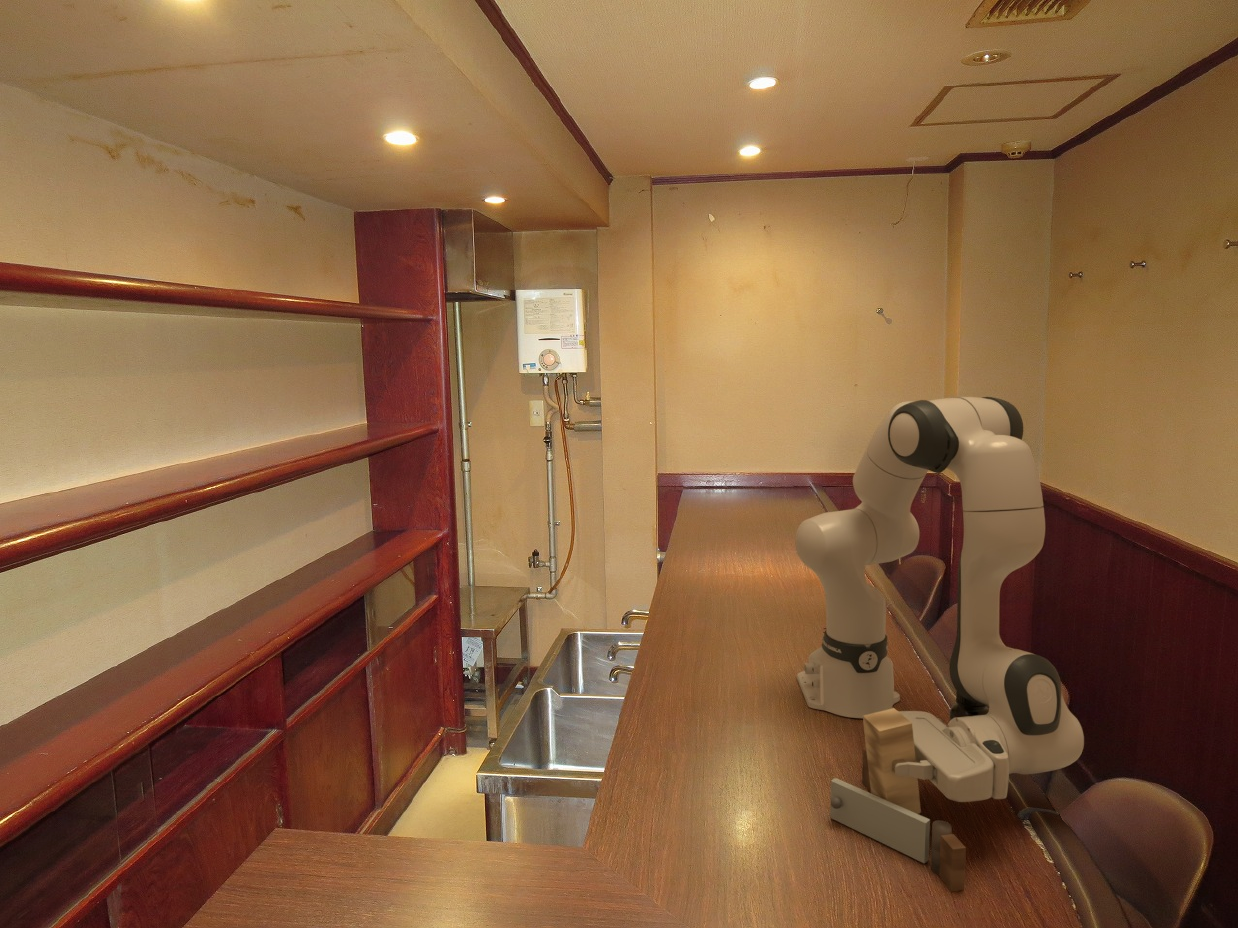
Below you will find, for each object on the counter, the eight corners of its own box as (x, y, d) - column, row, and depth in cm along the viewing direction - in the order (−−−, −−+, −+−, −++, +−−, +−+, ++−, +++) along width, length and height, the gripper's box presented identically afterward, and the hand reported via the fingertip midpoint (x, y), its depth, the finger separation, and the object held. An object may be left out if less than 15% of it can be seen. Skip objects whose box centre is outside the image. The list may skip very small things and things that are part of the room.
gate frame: (860, 782, 133) (861, 745, 132) (874, 780, 133) (875, 743, 132) (949, 891, 106) (950, 845, 105) (966, 889, 107) (968, 843, 106)
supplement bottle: (980, 748, 142) (983, 683, 140) (999, 768, 136) (1002, 700, 134) (941, 750, 142) (943, 684, 140) (958, 770, 135) (961, 702, 134)
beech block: (872, 802, 122) (862, 715, 119) (902, 794, 123) (893, 707, 120) (889, 820, 117) (879, 731, 115) (920, 812, 118) (912, 723, 115)
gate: (928, 859, 113) (930, 819, 112) (918, 868, 111) (919, 827, 110) (834, 814, 124) (835, 777, 123) (824, 821, 122) (824, 784, 121)
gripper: (935, 697, 130) (853, 704, 128) (1015, 762, 110) (919, 772, 108) (934, 734, 131) (852, 742, 129) (1013, 805, 111) (917, 816, 109)
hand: (883, 756), depth 118 cm, fingers closed on beech block, 5 cm apart
